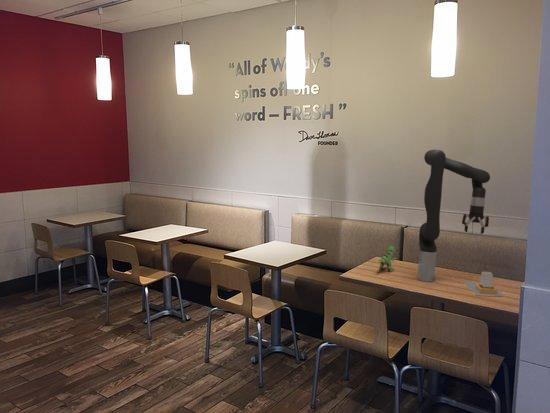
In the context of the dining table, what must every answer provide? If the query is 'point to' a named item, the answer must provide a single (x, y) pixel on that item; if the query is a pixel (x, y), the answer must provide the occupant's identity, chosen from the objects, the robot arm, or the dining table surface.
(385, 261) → the toy
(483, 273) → the brushed metal pillar
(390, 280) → the dining table surface
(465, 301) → the dining table surface
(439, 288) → the dining table surface
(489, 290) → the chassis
